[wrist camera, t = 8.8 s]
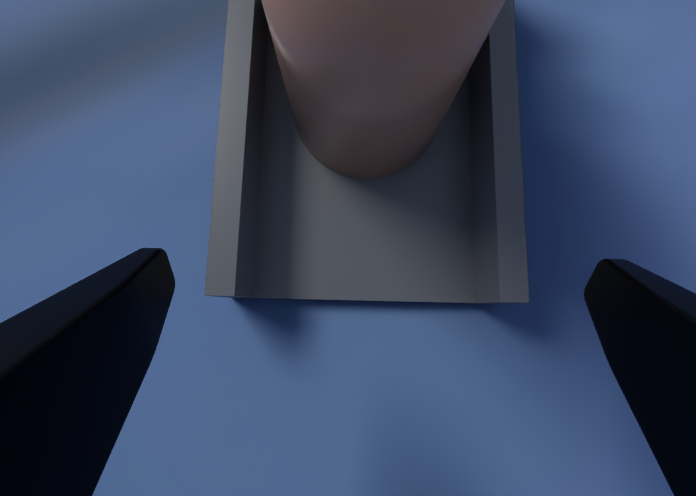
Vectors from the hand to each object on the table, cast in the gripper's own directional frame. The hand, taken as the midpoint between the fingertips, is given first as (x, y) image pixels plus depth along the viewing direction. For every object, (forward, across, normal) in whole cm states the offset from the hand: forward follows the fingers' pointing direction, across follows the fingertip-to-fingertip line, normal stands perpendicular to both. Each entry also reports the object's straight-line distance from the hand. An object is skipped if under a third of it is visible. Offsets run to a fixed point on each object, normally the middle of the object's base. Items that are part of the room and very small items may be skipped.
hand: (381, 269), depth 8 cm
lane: (+11, 0, 0) cm, 11 cm away
